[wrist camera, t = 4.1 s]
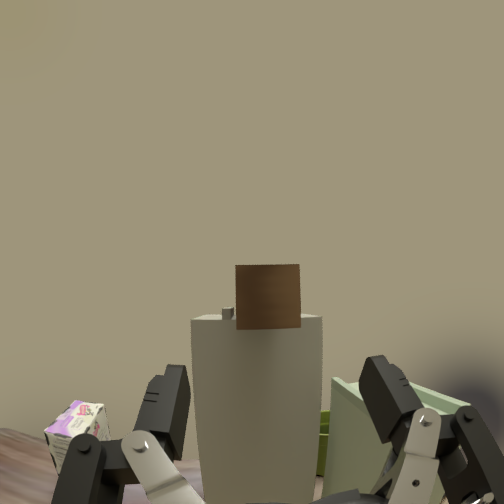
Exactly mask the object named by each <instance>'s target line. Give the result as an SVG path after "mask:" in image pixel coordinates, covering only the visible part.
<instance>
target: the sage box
mask: <svg viewBox="0 0 504 504" xmlns="http://www.w3.org/2000/svg"><path fill="white" fill-rule="evenodd" d="M409 383H410V385H411V386H412V388H413V389H414V391H415V392H416V394H417V396H418V397H419V399H420V401H421V402H422V404H423V405H424V407H425V408H431V409H434V410H435V411H437V412H438V413H439V415H447V414H455V412H456V411H457V410H458V408H460V407H461V406H464V405H468V406H471V404H469V403H466V402H463V401H460V400H457V399H454V398H451V397H448V396H446V395H443V394H440V393H437V392H435V391H432V390H429V389H427V388H424V387H421V386H419V385H416V384H413V383H411V382H409ZM358 384H359V382H356V383H351V384H347V383H346V382H344V381H343V380H341V379H340V378H338V377H335V378H332V384H331V407H330V422H329V435H328V447H327V457H326V466H325V474H324V482H323V489H322V496H321V499H322V498H324V497H327V496H329V495H331V494H335V493H340V492H344V491H348V490H353V489H356V488H358V490H359V493H365V494H369V493H370V491H371V490H372V488H373V487H374V485H375V484H376V482H377V480H378V478H379V476H380V474H381V471H382V469H383V467H384V464H385V462H386V459H387V456H388V454H389V451H390V449H391V447H392V443H391V442H388V443H385V444H382V443H381V440H380V438H379V436H378V433H377V431H376V429H375V426H374V424H373V422H372V419H371V417H370V415H369V412H368V410H367V408H366V405H365V403H364V401H363V399H362V396H361V394H360V392H359V386H358ZM460 448H461V445H460V446H459V449H460ZM444 493H445V491H444V488H443V486H442V483H441V481H440V478H439V475H438V473H437V474H436V478H435V482H434V486H433V489H432V493H431V496H430V499H429V502H428V504H440V502H441V500H442V497H443V495H444Z"/></svg>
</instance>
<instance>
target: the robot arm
mask: <svg viewBox="0 0 504 504" xmlns="http://www.w3.org/2000/svg"><path fill="white" fill-rule="evenodd" d="M358 386H359V392H360V394H361V396H362V399H363V401H364V403H365V405H366V408H367V410H368V412H369V415H370V417H371V419H372V422H373V424H374V426H375V429H376V431H377V433H378V436H379V438H380V440H381V443H382V444H385V443H388V442H391V443H392V447H391V449H390V451H389V454H388V456H387V459H386V462H385V464H384V467H383V469H382V471H381V474H380V476H379V478H378V480H377V482H376V484H375V485H374V487H373V488H372V490H371V491H370V493H369V494H365V493H359V490H358V488H356V489H353V490H348V491H344V492H340V493H335V494H331V495H329V496H327V497H324V498H322V499H319V500H317V501H314V502H312V503H309V504H428V502H429V499H430V496H431V493H432V489H433V486H434V482H435V478H436V474H437V473H438V475H439V478H440V481H441V483H442V486H443V488H444V491H445V494H446V497H447V499H448V502H449V504H504V456H503V454H502V452H501V450H500V449H499V447H498V445H497V443H496V442H495V440H494V438H493V436H492V434H491V433H490V431H489V429H488V427H487V426H486V424H485V422H484V421H483V419H482V418H481V416H480V414H479V413H478V411H477V410H476V409H475V408H473V407H472V406H468V405H464V406H461V407H460V408H458V410H457V411H456V412H455V414H447V415H439V413H438V412H437V411H435V410H434V409H431V408H425V407H424V405H423V404H422V402H421V401H420V399H419V397H418V396H417V394H416V392H415V391H414V389H413V388H412V386H411V385H410V383H409V381H408V380H407V379H406V377H405V375H404V374H403V372H402V370H400V369H399V368H398V367H397V366H395V365H394V364H389V362H388V361H387V359H386V358H385V356H384V355H379V356H372V357H368V358H367V359H366V361H365V364H364V367H363V370H362V373H361V376H360V379H359V384H358ZM190 395H191V393H190V386H189V381H188V376H187V371H186V367H185V365H170V364H168V365H167V367H166V371H165V374H164V376H163V375H156V376H155V377H154V378H153V379H152V380H151V381H150V382H149V384H148V387H147V390H146V394H145V396H144V399H143V402H142V405H141V408H140V411H139V414H138V418H137V421H136V424H135V427H134V429H133V431H132V432H130V433H128V434H127V435H126V436H125V437H124V438H123V439H120V440H109V441H99V440H98V438H97V437H95V436H94V435H92V434H88V433H82V434H78V435H76V436H75V437H74V438H73V439H72V440H71V442H70V444H69V447H68V450H67V453H66V456H65V459H64V462H63V465H62V468H61V471H60V474H59V477H58V481H57V484H56V488H55V491H54V495H53V499H52V502H51V504H122V499H123V493H124V487H125V485H126V484H141V485H142V487H143V488H144V490H145V492H146V495H147V497H148V499H149V501H150V502H151V504H206V503H205V502H204V501H203V500H202V499H201V497H200V496H199V495H198V494H197V493H196V491H195V490H194V489H193V488H192V487H191V485H190V484H189V483H188V482H187V480H186V479H185V478H183V477H182V475H181V474H180V473H179V472H178V470H177V469H176V467H175V466H174V465H173V462H174V460H179V461H181V458H182V451H183V444H184V438H185V431H186V424H187V418H188V412H189V406H190V398H191V396H190ZM460 445H461V447H462V449H463V451H464V453H465V455H466V457H467V460H468V464H466V462H465V459H464V457H463V455H462V453H461V451H460V449H459V446H460ZM246 504H288V503H278V502H269V503H246Z"/></svg>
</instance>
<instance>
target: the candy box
mask: <svg viewBox="0 0 504 504" xmlns="http://www.w3.org/2000/svg"><path fill="white" fill-rule="evenodd" d="M44 433H45V437H46V440H47V444H48V447H49V450H50V454H51V456H52V459H53V462H54V465H55V468H56V471H57V473H58V476H59V474H60V471H61V468H62V465H63V462H64V459H65V456H66V453H67V450H68V447H69V444H70V442H71V440H72V439H73V438H74V437H75V436H76V435H78V434H82V433H88V434H92V435H94V436H95V437H97V438H98V440H99V441H109V440H111V436H110V431H109V426H108V421H107V416H106V410H105V405H104V404H98V403H92V402H84V401H77V400H75V401H74V402H73V403H72V404H71V405H70V406H69V407H68V408H67V409H66V410H65V411H64V412H63V413H62V414H61V415H60V416H59V417H58V418H57V419H56V420H55V421H54V422H53V423H52V424H51V425H50V426H49V427H48V428H46V430H44Z"/></svg>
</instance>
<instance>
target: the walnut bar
mask: <svg viewBox="0 0 504 504" xmlns="http://www.w3.org/2000/svg"><path fill="white" fill-rule="evenodd" d="M235 266H236V330H262V329H288V328H301V301H300V299H301V298H300V269H299V264H288V265H235Z"/></svg>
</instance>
